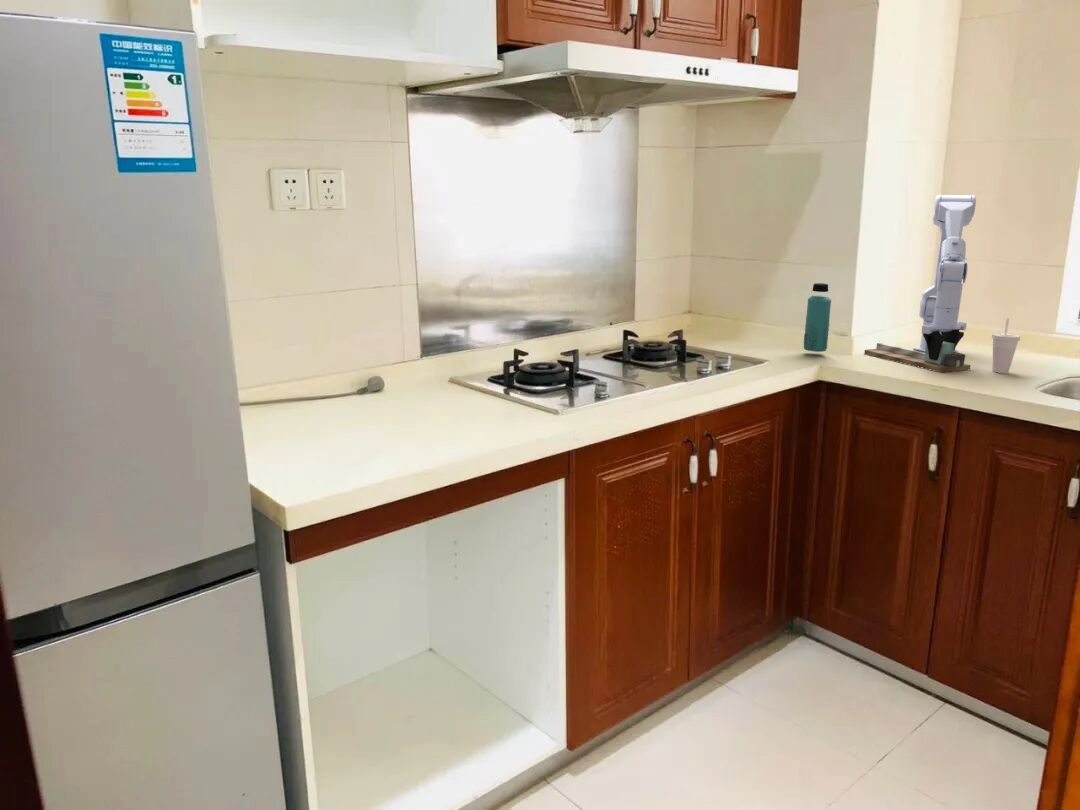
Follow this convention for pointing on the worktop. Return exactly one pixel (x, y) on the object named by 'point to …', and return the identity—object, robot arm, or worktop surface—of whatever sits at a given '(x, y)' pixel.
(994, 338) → the smoothie
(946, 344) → the block
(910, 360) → the track
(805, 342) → the beverage bottle
